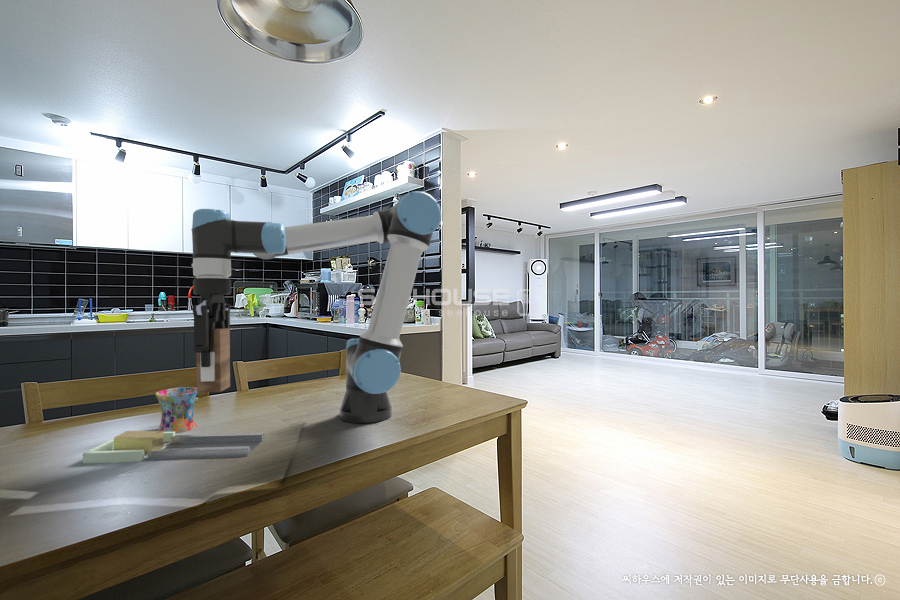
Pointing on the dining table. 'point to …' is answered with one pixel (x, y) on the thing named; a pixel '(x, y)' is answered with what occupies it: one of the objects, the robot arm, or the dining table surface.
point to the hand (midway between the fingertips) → (214, 378)
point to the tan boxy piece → (148, 441)
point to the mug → (177, 409)
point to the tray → (117, 452)
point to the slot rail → (208, 446)
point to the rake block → (217, 363)
